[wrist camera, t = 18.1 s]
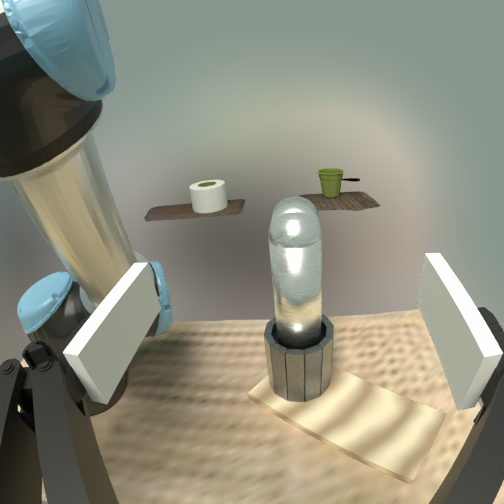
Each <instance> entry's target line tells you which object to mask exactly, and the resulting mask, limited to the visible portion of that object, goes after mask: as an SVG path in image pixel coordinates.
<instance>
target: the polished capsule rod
mask: <svg viewBox="0 0 504 504" xmlns="http://www.w3.org/2000/svg"><path fill="white" fill-rule="evenodd" d="M269 247H270V258H271V268H272V279H273V290H274V302H275V313H276V324H277V336H278V344H279V345H281V346H283V347H285V348H287V349H299V350H304V349H307V348H310V347H313V346H316V345H318V344H319V343H320V342H321V310H322V309H321V308H322V307H321V304H322V260H321V259H322V256H321V255H322V253H321V229H320V223H319V216H318V212H317V209H316V207H315V206H314V205H313V204H312V203H311V202H310V201H309V200H307V199H305V198H303V197H298V196H293V197H288V198H285V199H284V200H282V201H281V202H279V203H278V204H277V206H276V207H275V209H274V211H273V216H272V220H271V225H270V230H269Z"/></svg>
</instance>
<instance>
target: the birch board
mask: <svg viewBox="0 0 504 504" xmlns="http://www.w3.org/2000/svg"><path fill="white" fill-rule="evenodd" d="M248 396H249V398H250V399H251V400H253V401H254V402H256V403H257V404H259V405H261V406H262V407H264V408H265V409H267V410H269V411H270V412H272V413H273V414H275V415H277V416H278V417H280V418H282V419H283V420H285V421H287V422H288V423H290V424H292V425H293V426H295V427H297V428H299V429H300V430H302V431H304V432H306V433H307V434H309V435H311V436H313V437H314V438H316V439H318V440H320V441H322V442H324V443H325V444H327V445H329V446H331V447H333V448H335V449H337V450H339V451H340V452H342V453H344V454H346V455H348V456H350V457H352V458H354V459H356V460H358V461H360V462H362V463H364V464H366V465H369V466H371V467H373V468H375V469H377V470H379V471H381V472H384V473H386V474H388V475H390V476H392V477H395V478H397V479H399V480H402V481H404V482H406V483H409V484H410V483H411V482H412V481H413V479H414V478H415V476H416V474H417V472H418V471H419V469H420V467H421V465H422V463H423V461H424V460H425V458H426V456H427V454H428V452H429V450H430V448H431V446H432V444H433V442H434V440H435V438H436V436H437V434H438V432H439V430H440V427H441V425H442V423H443V421H444V419H445V416H446V414H447V413H444V412H441V411H439V410H436V409H434V408H431V407H428V406H426V405H423V404H421V403H418V402H416V401H413V400H411V399H408V398H406V397H403V396H401V395H398V394H396V393H393V392H391V391H389V390H386V389H384V388H381V387H379V386H377V385H374V384H372V383H370V382H367V381H365V380H363V379H361V378H358V377H356V376H354V375H351V374H349V373H347V372H345V371H342V370H340V369H338V368H336V367H334V366H331V374H330V386H329V387H328V388H327V390H326V391H325V392H324V393H323V394H322V395H321V396H320V397H318V398H315V399H313V400H310V401H307V402H305V401H304V402H290V401H286V400H285V399H283V398H281V397H279V396H278V395H276V394H275V393H274V391H273V389H272V387H271V385H270V382H269V375H268V376H266V377H265V378H264V379H263V380H262V381H261V382H260V383H259V384H257V385H256V386H255V387H254V388H253V389H252V390H251V391H249V392H248Z"/></svg>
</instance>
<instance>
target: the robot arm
mask: <svg viewBox="0 0 504 504" xmlns="http://www.w3.org/2000/svg"><path fill="white" fill-rule="evenodd" d="M115 83H116V76H115V67H114V60H113V55H112V52H111V48H110V44H109V36H108V32H107V28H106V24H105V20H104V16H103V13H102V9H101V6H100V2H99V0H0V180H9V182H10V184H11V186H12V187H13V189H14V191H15V192H16V194H17V196H18V197H19V199H20V201H21V202H22V204H23V206H24V207H25V209H26V210H27V212H28V213H29V215H30V216H31V218H32V220H33V221H34V223H35V224H36V226H37V227H38V229H39V230H40V232H41V233H42V235H43V236H44V237H45V239H46V240H47V242H48V243H49V245H50V246H51V248H52V249H53V250H54V252H55V253H56V255H57V256H58V257H59V259H60V260H61V261H62V263H63V264H64V265H65V267H66V268H67V269H68V271H69V272H70V273H71V275H72V276H73V277H74V279H75V280H76V281H75V282H74V281H73V277H71V276H70V274H69V273H67V272H57V273H54V274H51V275H49V276H47V277H45V278H43V279H41V280H40V281H38V282H37V283H35V284H34V285H33V286H32V287H31V288H30V289H28V290H27V291H26V292H25V294H24V295H23V297H22V298H21V299H20V301H19V304H18V309H17V312H18V316H19V319H20V321H21V323H22V326H23V328H24V331H25V333H26V334H27V335H28V337H29V339H30V341H31V342H32V343H30V344H29V345H28V346H26V348H25V349H24V351H23V354H22V356H23V358H24V359H25V361H26V362H27V364H28V365H29V367H23V366H22V365H21V363H20V362H19V360H17V359H9V360H6V361H5V362H3V363H2V365H1V366H0V504H42V503H41V502H42V478H43V483H44V488H45V492H46V497H47V501H48V504H119V503H118V500H117V498H116V495H115V493H114V490H113V488H112V485H111V482H110V480H109V477H108V474H107V471H106V468H105V466H104V463H103V460H102V457H101V454H100V450H99V447H98V444H97V441H96V437H95V434H94V431H93V427H92V423H91V420H90V415H95V414H98V413H101V412H103V411H105V410H107V409H108V408H110V407H111V406H112V405H114V404H115V403H116V402H117V401H118V399H119V398H120V397H121V395H122V393H123V391H124V389H125V385H126V376H125V371H126V369H127V367H128V365H129V364H130V362H131V360H132V358H133V356H134V355H135V353H136V351H137V349H138V348H139V346H140V344H141V342H142V341H143V339H144V338H145V337H149V336H151V337H153V336H156V335H158V334H160V333H163V332H166V331H168V330H170V328H171V327H172V324H173V320H172V319H173V318H172V311H171V306H170V299H169V294H168V289H167V284H166V280H165V276H164V272H163V269H162V266H161V264H160V263H159V262H157V261H153V262H152V261H147V260H146V259H145V258H144V257H143V256H141V255H140V254H138V253H136V252H134V251H133V249H132V247H131V244H130V242H129V239H128V237H127V234H126V232H125V229H124V226H123V224H122V221H121V218H120V216H119V213H118V210H117V208H116V205H115V202H114V199H113V196H112V194H111V191H110V188H109V185H108V182H107V179H106V176H105V173H104V170H103V167H102V164H101V161H100V158H99V155H98V151H97V148H96V145H95V141H94V138H93V135H92V131H93V129H94V128H95V127H96V125H97V124H98V122H99V120H100V118H101V116H102V112H103V103H102V99H103V98H104V97H105V96H106V95H108V94H110V93H111V92H112V91H113V89H114V88H115ZM417 305H418V307H419V310H420V312H421V314H422V316H423V319H424V321H425V324H426V326H427V328H428V331H429V333H430V336H431V338H432V341H433V343H434V346H435V348H436V351H437V354H438V356H439V359H440V361H441V364H442V367H443V370H444V372H445V375H446V378H447V381H448V384H449V387H450V390H451V393H452V396H453V399H454V402H455V405H456V408H457V411H458V410H463V409H468V408H472V407H475V405H476V404H477V402H478V400H479V399H480V397H481V399H482V401H483V404H484V405H483V407H482V408H481V410H480V412H479V413H478V415H477V416H476V418H475V419H474V421H473V422H475V423H474V425H473V427H472V430H471V432H470V434H469V436H468V438H467V440H466V442H465V444H464V446H463V447H462V449H461V451H460V453H459V455H458V457H457V459H456V460H455V462H454V464H453V466H452V467H451V469H450V471H449V473H448V474H447V476H446V478H445V479H444V481H443V482H442V484H441V486H440V487H439V489H438V490H437V492H436V494H435V495H434V497H433V498H432V500H431V501H430V503H429V504H493V501H494V499H495V497H496V495H497V493H498V491H499V489H500V487H501V484H502V482H503V480H504V332H503V329H502V328H501V326H500V325H499V323H498V321H497V320H496V318H495V316H494V315H493V314H492V313H491V312H490V311H488V310H487V309H486V308H485V307H482V308H476V306H475V304H474V303H473V301H472V300H471V298H470V297H469V295H468V294H467V292H466V290H465V289H464V287H463V286H462V284H461V283H460V281H459V280H458V278H457V277H456V276H455V274H454V273H453V271H452V270H451V268H450V267H449V265H448V264H447V263H446V261H445V260H444V258H443V257H442V256H441V254H440V253H428V254H425V259H424V265H423V271H422V277H421V283H420V289H419V294H418V300H417ZM18 405H19V406H20V407H21V410H20V413H19V412H18Z"/></svg>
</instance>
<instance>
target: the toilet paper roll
mask: <svg viewBox="0 0 504 504" xmlns="http://www.w3.org/2000/svg"><path fill="white" fill-rule="evenodd" d="M190 194H191V200H192V206H193V211H194V212H197V213H212V212H217V211H220V210H222V209H224V208H226V207H227V205H228V200H227V192H226V186H225V182H224V181H222V180H207V181H201V182H198V183H195V184H193V185H191V186H190Z"/></svg>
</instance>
